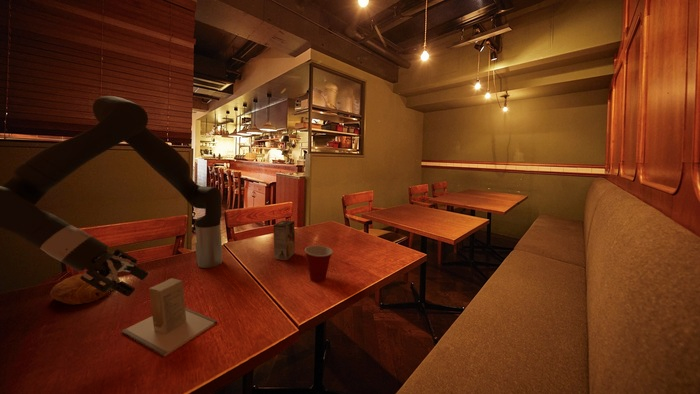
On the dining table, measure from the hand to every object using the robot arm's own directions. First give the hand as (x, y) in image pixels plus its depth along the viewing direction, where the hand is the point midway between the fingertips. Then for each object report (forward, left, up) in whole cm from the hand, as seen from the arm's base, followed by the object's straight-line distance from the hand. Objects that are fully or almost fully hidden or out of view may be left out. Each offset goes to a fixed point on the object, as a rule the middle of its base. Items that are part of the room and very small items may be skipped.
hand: (139, 284), depth 69 cm
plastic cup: (+27, +46, -12) cm, 55 cm away
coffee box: (+1, +58, -12) cm, 59 cm away
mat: (+7, +3, -12) cm, 14 cm away
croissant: (-34, +1, -13) cm, 36 cm away
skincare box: (+7, +3, -12) cm, 14 cm away
